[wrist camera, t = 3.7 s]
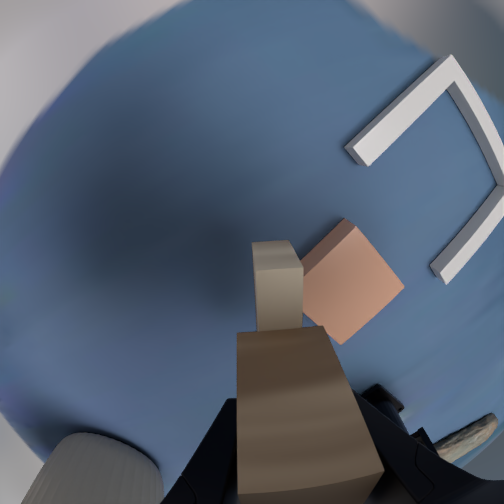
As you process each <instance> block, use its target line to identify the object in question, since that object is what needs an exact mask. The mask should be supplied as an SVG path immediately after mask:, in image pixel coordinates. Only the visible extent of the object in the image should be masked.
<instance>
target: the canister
mask: <svg viewBox="0 0 504 504" xmlns="http://www.w3.org/2000/svg"><path fill="white" fill-rule="evenodd" d="M163 499H164V486H163V481H162V477H161V474H160V472H159V470H158V468H157V467H156V465H155V464H154V463H153V462H152V461H151V460H150V459H148V457H147V456H145V455H143V454H142V453H141V452H139V451H137V450H136V449H134V448H132V447H130V446H129V445H126V444H123V443H122V442H120V441H116V440H115V439H111V438H108V437H106V436H101V435H99V434H93V433H86V432H83V433H81V432H79V433H74V434H71V435H69V436H66V437H65V438H64V439H62V440H61V442H60V443H59V444H58V445H57V446H56V447H55V449H54V450H53V452H52V453H51V455H50V456H49V458H48V459H47V461H46V462H45V464H44V465H43V467H42V469H41V470H40V472H39V473H38V475H37V477H36V479H35V480H34V482H33V484H32V485H31V487H30V489H29V491H28V492H27V494H26V496H25V497H24V499H23V501H22V503H21V504H160V502H161V501H162V500H163Z"/></svg>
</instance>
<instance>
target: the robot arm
mask: <svg viewBox="0 0 504 504" xmlns="http://www.w3.org/2000/svg"><path fill="white" fill-rule="evenodd" d="M351 390H352V389H351ZM352 392H353V395H354V397H355V399H356V402H357V404H358V406H359V409H360V411H361V414H362V416H363V418H364V421H365V423H366V426H367V428H368V430H369V433H370V435H371V438H372V440H373V443H374V445H375V448H376V450H377V453H378V455H379V458H380V460H381V463H382V465H383V468H384V472H383V474H382V476H381V477H380V479H379V481H378V482H377V484H376V485H375V487H374V489H373V490H372V492H371V493H370V495H369V496H368V498H367V499H366V501H365V502H364V503H363V504H504V480H494V481H493V480H485V479H481V478H478V477H476V476H474V475H472V474H470V473H468V472H466V471H464V470H462V469H460V468H459V467H457V466H455V465H453V464H451V463H449V462H448V461H446V460H444V459H443V458H441V457H440V456H439V454H438V452H437V451H436V449H435V447H434V445H433V444H432V442H431V440H430V439H429V437H428V435H427V434H426V432H425V430H424V429H423V427H421V428H420V429H418V431H417V432H415V433H413V434H412V435H409V433H408V431H407V429H406V427H405V425H404V423H403V421H402V420H401V418H400V416H399V414H398V413H399V412H401V411H402V410H403V409H404V406H403V404H402V403H401V402H400V401H398V400H397V399H396V398H395V397H394V396H393V395H391V394H390V393H389V392H388V391H387V390H386V389H385V388H383V387H382V386H381V385H376V386H374V387H373V388H371V389H370V390H369V391H367V392H366V393H365V394H363V395H362V396H360V395H359V394H357V393H356V392H355V391H354V390H352ZM181 475H182V476H179V478H178V479H177V481H176V483H175V484H174V486H173V487H172V488H171V490H170V491H169V493H168V494H167V495H166V497H165V498H164V499H163V500H162V501H161V502H160V504H240V500H239V496H238V474H237V398H229V399H227V400H226V401H225V403H224V405H223V407H222V408H221V410H220V412H219V413H218V415H217V417H216V418H215V420H214V422H213V423H212V425H211V427H210V428H209V430H208V432H207V433H206V435H205V437H204V438H203V440H202V442H201V443H200V445H199V446H198V448H197V450H196V451H195V453H194V455H193V456H192V458H191V459H190V461H189V462H188V464H187V466H186V467H185V469H184V470H183V472H182V473H181Z"/></svg>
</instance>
